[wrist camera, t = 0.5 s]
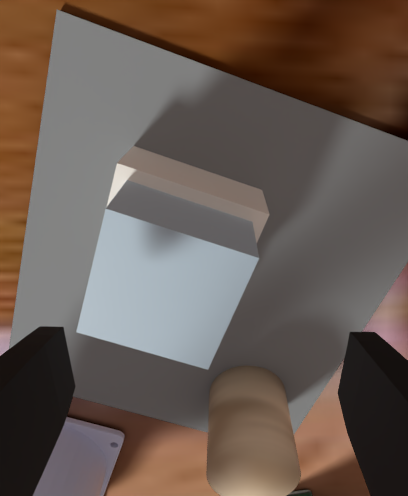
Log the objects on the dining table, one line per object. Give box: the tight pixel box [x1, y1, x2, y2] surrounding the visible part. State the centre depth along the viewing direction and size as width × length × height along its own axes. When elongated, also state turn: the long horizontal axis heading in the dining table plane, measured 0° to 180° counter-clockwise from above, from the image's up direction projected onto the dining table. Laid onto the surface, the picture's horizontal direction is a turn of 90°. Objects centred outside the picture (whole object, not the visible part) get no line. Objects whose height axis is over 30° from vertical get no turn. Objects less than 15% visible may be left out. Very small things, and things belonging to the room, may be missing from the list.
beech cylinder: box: [207, 366, 301, 496], centre depth 21 cm, size 4×4×5 cm
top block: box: [76, 180, 259, 370], centre depth 14 cm, size 5×5×3 cm
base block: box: [107, 146, 270, 243], centre depth 17 cm, size 6×6×3 cm
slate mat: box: [9, 10, 408, 434], centre depth 20 cm, size 20×18×1 cm
